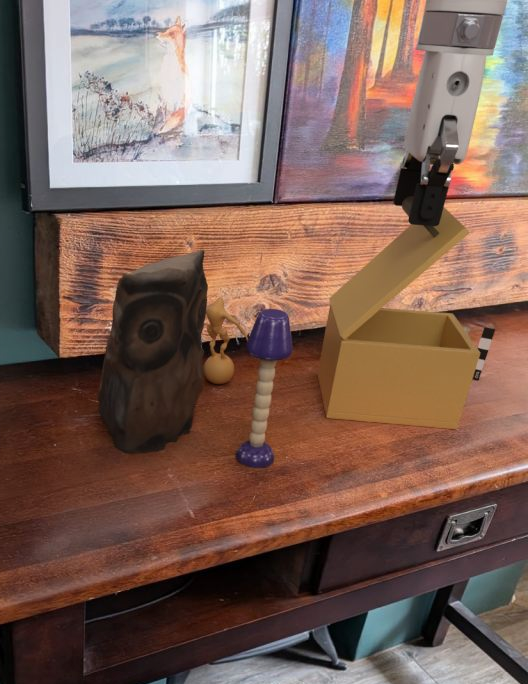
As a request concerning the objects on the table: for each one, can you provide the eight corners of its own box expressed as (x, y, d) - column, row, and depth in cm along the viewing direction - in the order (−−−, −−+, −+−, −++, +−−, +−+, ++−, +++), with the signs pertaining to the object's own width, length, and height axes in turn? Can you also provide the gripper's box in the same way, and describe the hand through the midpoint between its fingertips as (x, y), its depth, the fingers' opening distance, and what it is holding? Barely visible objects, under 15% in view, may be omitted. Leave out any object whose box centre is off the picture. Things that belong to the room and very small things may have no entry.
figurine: (252, 385, 99) (263, 296, 92) (232, 401, 95) (243, 309, 88) (196, 370, 102) (204, 283, 96) (175, 385, 98) (182, 295, 91)
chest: (433, 383, 102) (453, 313, 97) (456, 429, 91) (480, 352, 85) (317, 374, 103) (330, 303, 98) (326, 418, 92) (341, 341, 86)
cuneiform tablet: (478, 380, 104) (392, 361, 108) (480, 375, 107) (396, 357, 112) (495, 329, 101) (405, 311, 105) (496, 326, 105) (410, 309, 109)
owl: (199, 409, 92) (215, 243, 81) (208, 460, 82) (227, 278, 71) (97, 406, 92) (99, 238, 81) (93, 457, 81) (94, 272, 70)
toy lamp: (277, 471, 80) (302, 321, 71) (234, 469, 80) (253, 319, 71) (270, 449, 84) (293, 305, 75) (229, 448, 84) (247, 303, 75)
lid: (441, 205, 90) (416, 175, 88) (470, 232, 78) (442, 199, 77) (332, 302, 98) (308, 276, 96) (344, 340, 86) (317, 311, 85)
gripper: (522, 40, 67) (467, 236, 77) (473, 36, 82) (432, 202, 91) (438, 35, 68) (393, 230, 77) (404, 32, 82) (370, 197, 92)
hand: (414, 214), depth 84 cm, fingers open, 9 cm apart
